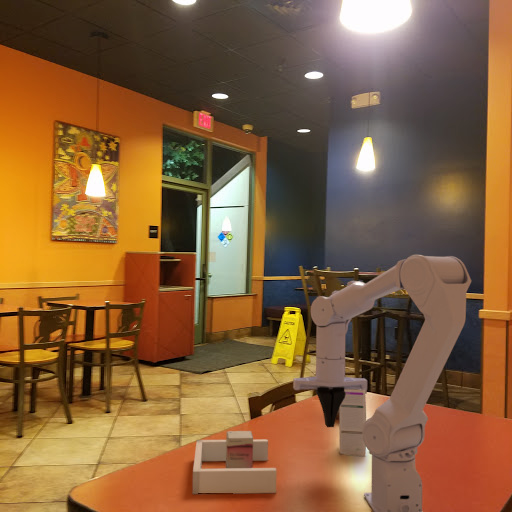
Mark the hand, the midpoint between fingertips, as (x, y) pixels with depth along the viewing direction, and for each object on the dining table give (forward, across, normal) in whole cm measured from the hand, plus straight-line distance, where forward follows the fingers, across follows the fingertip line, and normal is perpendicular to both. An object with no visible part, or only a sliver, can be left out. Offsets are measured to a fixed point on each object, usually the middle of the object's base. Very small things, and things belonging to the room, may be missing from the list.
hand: (329, 425), depth 100 cm
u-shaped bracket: (+9, +19, 0) cm, 21 cm away
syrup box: (+10, -8, -12) cm, 17 cm away
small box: (+10, +18, 0) cm, 20 cm away
